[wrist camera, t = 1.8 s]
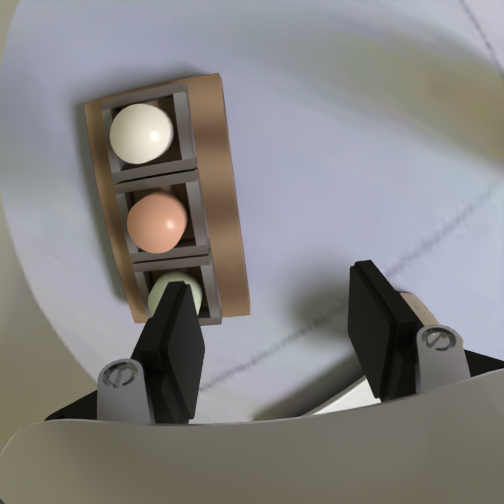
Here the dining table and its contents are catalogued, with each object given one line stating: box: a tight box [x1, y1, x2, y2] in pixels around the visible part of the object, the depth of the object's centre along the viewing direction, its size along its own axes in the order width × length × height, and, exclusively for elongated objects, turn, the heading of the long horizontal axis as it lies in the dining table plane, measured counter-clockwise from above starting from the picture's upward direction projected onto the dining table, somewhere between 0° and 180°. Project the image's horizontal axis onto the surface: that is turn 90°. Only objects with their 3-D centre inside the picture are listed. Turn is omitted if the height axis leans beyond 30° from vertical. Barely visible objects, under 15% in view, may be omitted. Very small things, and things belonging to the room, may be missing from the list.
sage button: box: [148, 270, 203, 315], centre depth 27 cm, size 4×4×2 cm
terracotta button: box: [127, 191, 188, 253], centre depth 24 cm, size 4×4×2 cm
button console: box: [84, 73, 250, 326], centre depth 27 cm, size 22×12×5 cm, turn 6°
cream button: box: [110, 104, 174, 164], centre depth 22 cm, size 4×4×2 cm
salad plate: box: [300, 375, 381, 417], centre depth 40 cm, size 21×21×3 cm
